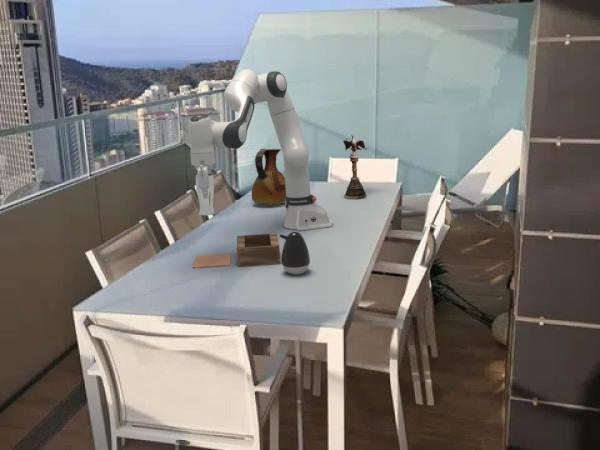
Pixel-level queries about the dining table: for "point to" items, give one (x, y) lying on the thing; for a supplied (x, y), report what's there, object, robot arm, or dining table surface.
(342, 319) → the dining table surface
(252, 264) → the walnut box
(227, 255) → the terracotta mat
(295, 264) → the pump dispenser
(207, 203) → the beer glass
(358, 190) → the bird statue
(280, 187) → the ceramic pitcher
